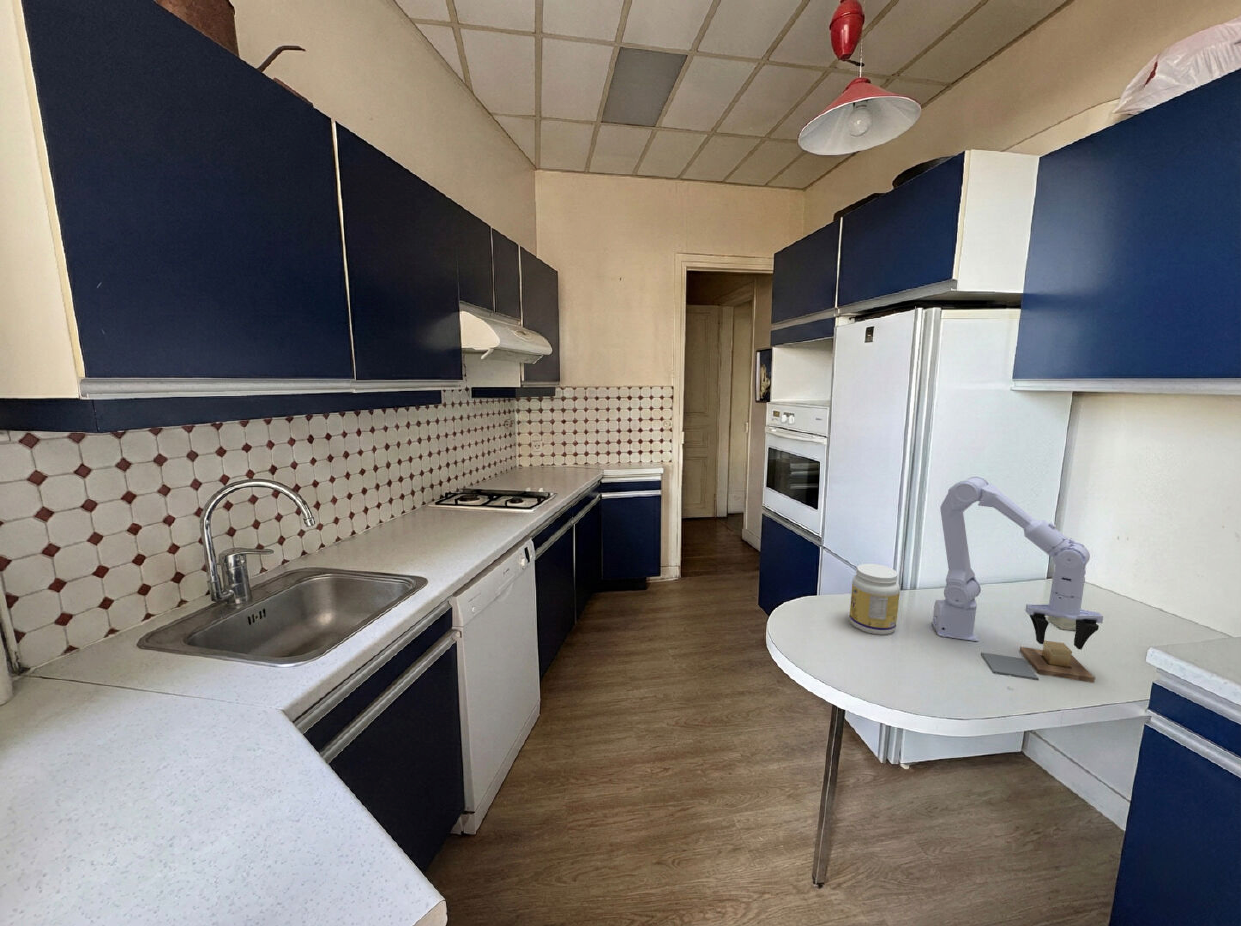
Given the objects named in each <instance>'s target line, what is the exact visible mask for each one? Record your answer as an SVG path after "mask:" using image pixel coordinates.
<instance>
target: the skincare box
mask: <svg viewBox="0 0 1241 926" xmlns="http://www.w3.org/2000/svg"><path fill="white" fill-rule="evenodd" d="M1081 604H1082V602H1081ZM1080 609H1082V607H1081V608H1080ZM1047 621H1048V622H1049V623H1052V624H1053V625H1054V626H1056V627H1058V628H1059V629H1060V630H1067V631H1076V620H1070V619H1066V618H1061V617H1053V616H1047Z"/></svg>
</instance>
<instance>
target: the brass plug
mask: <svg viewBox="0 0 1241 926" xmlns="http://www.w3.org/2000/svg"><path fill="white" fill-rule="evenodd" d="M1042 645H1043V646H1042V650H1043V652H1042V658H1043V660H1044V661H1045V662H1046V663H1047V664H1048V665H1052V666H1058V667H1065V668H1069V667H1070V661H1071V655H1073V654H1072V653H1073V651H1072V650H1071V649H1070V648H1069V647H1068V646H1067V645H1066V644H1065V643H1064V642H1057V641H1051V640H1050V641H1049V640H1044V643H1043V644H1042Z"/></svg>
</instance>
